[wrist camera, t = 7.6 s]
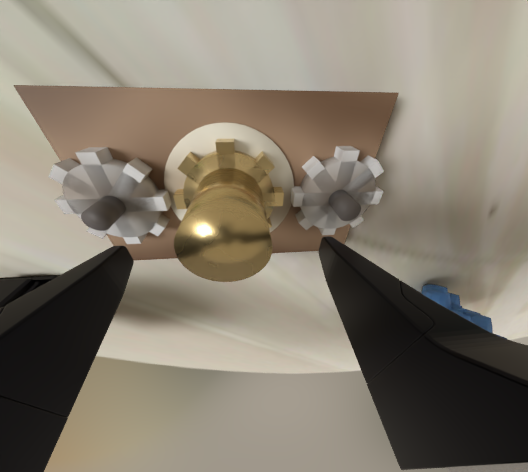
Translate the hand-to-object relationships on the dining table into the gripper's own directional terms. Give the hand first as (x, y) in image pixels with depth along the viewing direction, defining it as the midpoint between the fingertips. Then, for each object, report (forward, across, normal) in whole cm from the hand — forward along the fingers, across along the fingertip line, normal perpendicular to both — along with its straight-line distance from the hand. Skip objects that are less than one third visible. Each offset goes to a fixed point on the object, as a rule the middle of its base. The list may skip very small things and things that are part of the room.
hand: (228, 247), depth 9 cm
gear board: (+8, 0, 0) cm, 8 cm away
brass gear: (+6, 0, 0) cm, 6 cm away
